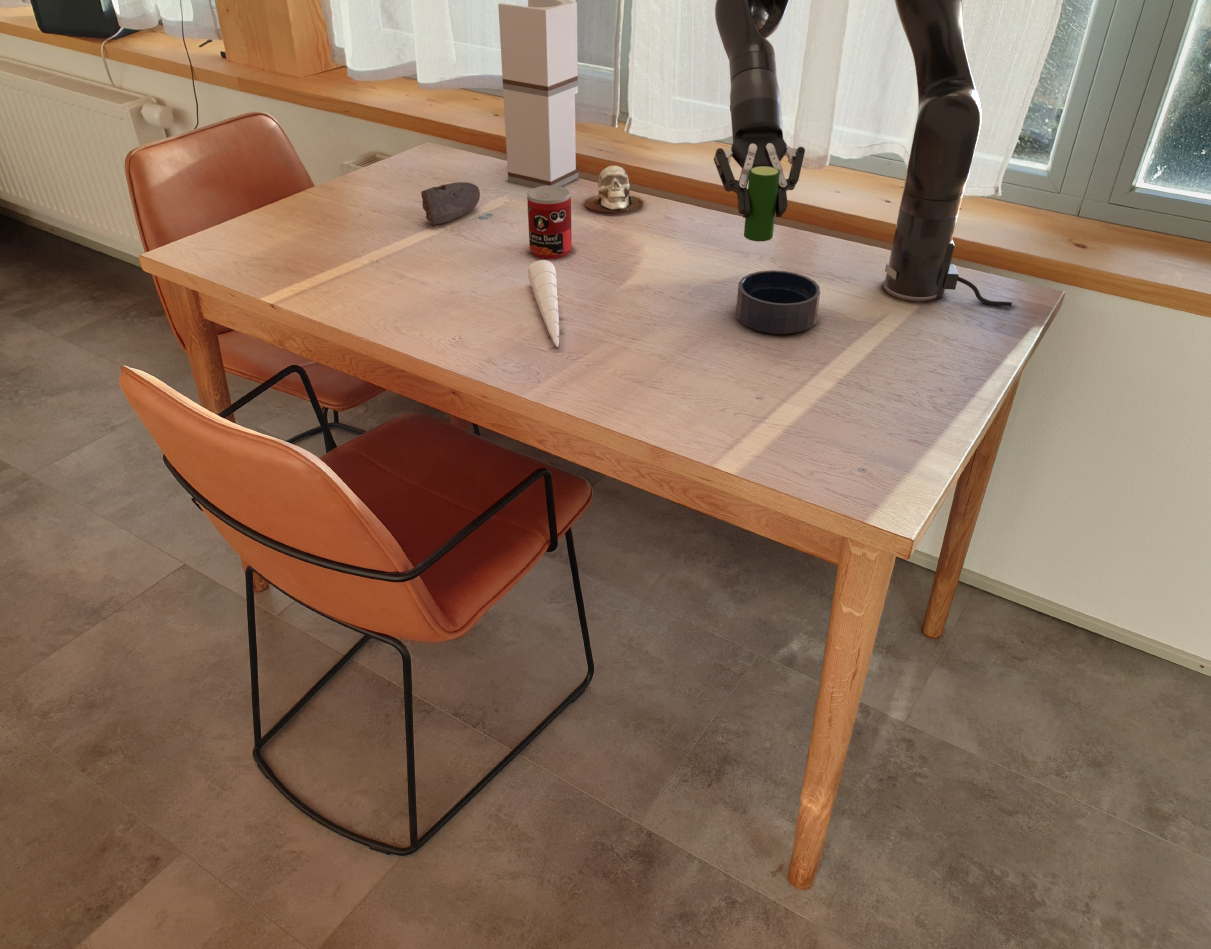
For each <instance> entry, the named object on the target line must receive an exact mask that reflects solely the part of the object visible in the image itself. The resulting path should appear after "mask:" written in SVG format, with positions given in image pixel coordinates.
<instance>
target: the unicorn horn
mask: <svg viewBox="0 0 1211 949" xmlns="http://www.w3.org/2000/svg"><path fill="white" fill-rule="evenodd" d="M527 278H528V280H529V283H530V286H531V289H532V292H533V295H534V298H535V300H536V303H537V306H538V309H539V311H540V314H541V317H542V319H543V322H544V324H545V327H546V329H547V331H548V333H549V336H550V338H551V340H552V343H553V345H555V347H556V348H558V347H559V345H560V317H559V301H558V299H559V298H558V297H559V296H558V283H557V270H556V267H555V265H554V264H553V263H552V262H551V261H550V260H547V259H541V260H536V261H534V262H532V263H531V264H530V265H529V267H528V269H527Z"/></svg>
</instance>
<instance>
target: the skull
mask: <svg viewBox="0 0 1211 949" xmlns="http://www.w3.org/2000/svg"><path fill="white" fill-rule="evenodd" d="M629 181H630V180H629V176H628V173H627V172H626V170H625V169H624V168H623V167H621V166H619V165H609V166H607V167H605V168H603V169H602V171H601V172H600V173H599V175H598V180H597V190H598V195H596V196H592V197H590V198H588V199H586V200H585V201H584V206H585V207H587V208H588V209H591V210H595V211H600V212H608V213H610V212H611V213H622V212H628V211H634V210H637V209H641V208H642V207H643V206H644V201H643V199H641V198H639V197H636V196H633V195H630V189H631V184H630V182H629Z"/></svg>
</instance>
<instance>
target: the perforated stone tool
mask: <svg viewBox="0 0 1211 949" xmlns="http://www.w3.org/2000/svg"><path fill="white" fill-rule="evenodd" d="M420 193H421V200H422V204H421V206H422V209H423V210H424V212H425V218H426V220H427V222H429V223H430V224H431V225H433V226H435V225H440V224H445V223H449V222H452V221H454V220H456V219H458V218H460V217H463V216H465V215H467V214H469V213H470V212H471V211H473V210H474V209H475V208H476V206H477V205H478V204H479V202H480V199H481V198H480V197H481V193H480V188H479V186H477V185H476V184H474V183H471V182H466V181H457V182H451V183H445V184H440V185H438V186H432V187H430V188H426V189H424V190H421V192H420Z"/></svg>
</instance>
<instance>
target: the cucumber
mask: <svg viewBox="0 0 1211 949" xmlns="http://www.w3.org/2000/svg"><path fill="white" fill-rule="evenodd" d="M779 174H780V172H779V170H778V169H776V168H772V167H766V166H760V167H754V168H751V169H750V171H749V180H748V184H747V189H749V200H750V214H749V217H748V218H744V228H743V237H744V238H745V239H746V240H748V241H752V242H768V241H770V240H772V239H773V237H774V228H775V221H776V220H775V218H776V202H777V193H778V183H779Z"/></svg>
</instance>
